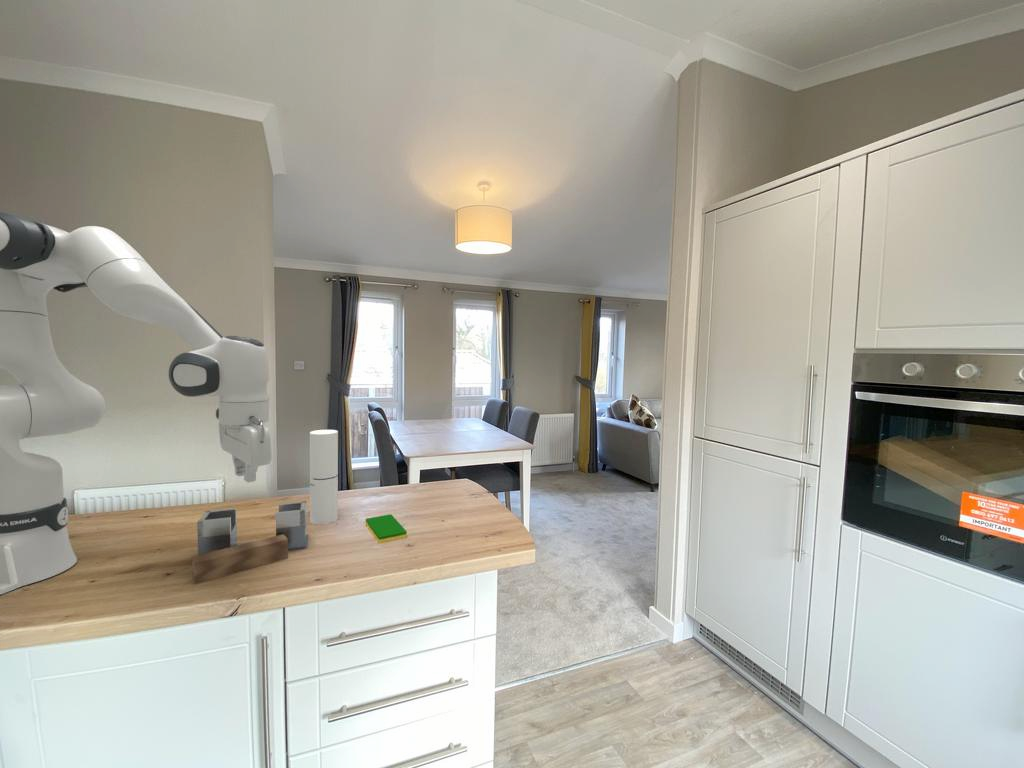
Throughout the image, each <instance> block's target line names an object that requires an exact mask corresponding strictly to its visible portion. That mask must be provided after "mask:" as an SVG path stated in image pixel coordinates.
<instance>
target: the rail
mask: <svg viewBox="0 0 1024 768" xmlns="http://www.w3.org/2000/svg"><path fill="white" fill-rule="evenodd" d="M249 542H250V543H246V544H241V545H237V546H233V547H229V548H225V549H221V550H217V551H213V552H209V553H205V554H201V555H198V554H197V555H193V556H192V557H191V558H192V559H191V561H192V563H191V564H192V566H191V568H192V581H193V582H194V585H198V584H202V583H205V582H208V581H212V580H216V579H219V578H222V577H226V576H229V575H230V576H231V575H233V574H236V573H237V574H238V573H240V572H244V571H247V570H250V569H251V570H252V569H255V568H258V567H261V566H265V565H268V564H272V563H275V562H279V561H283V560H285V559H288V558H289V551H288V539H287V538H286V536H285V535H284V534H282V535H278V536H276V535H275V536H274V535H273V536H270V537H266V538H262V539H259V540H258V539H257V540H254V542H253V541H249Z"/></svg>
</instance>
